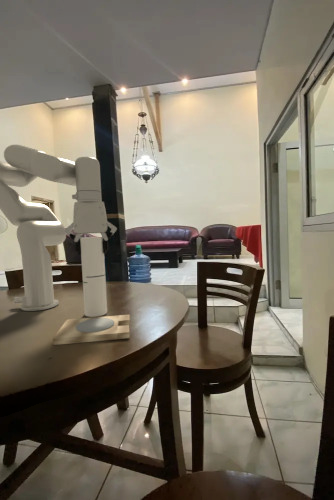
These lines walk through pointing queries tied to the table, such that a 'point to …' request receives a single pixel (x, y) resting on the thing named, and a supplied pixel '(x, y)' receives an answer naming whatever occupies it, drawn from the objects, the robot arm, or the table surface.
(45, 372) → the table surface
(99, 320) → the notched board
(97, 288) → the cylindrical container
